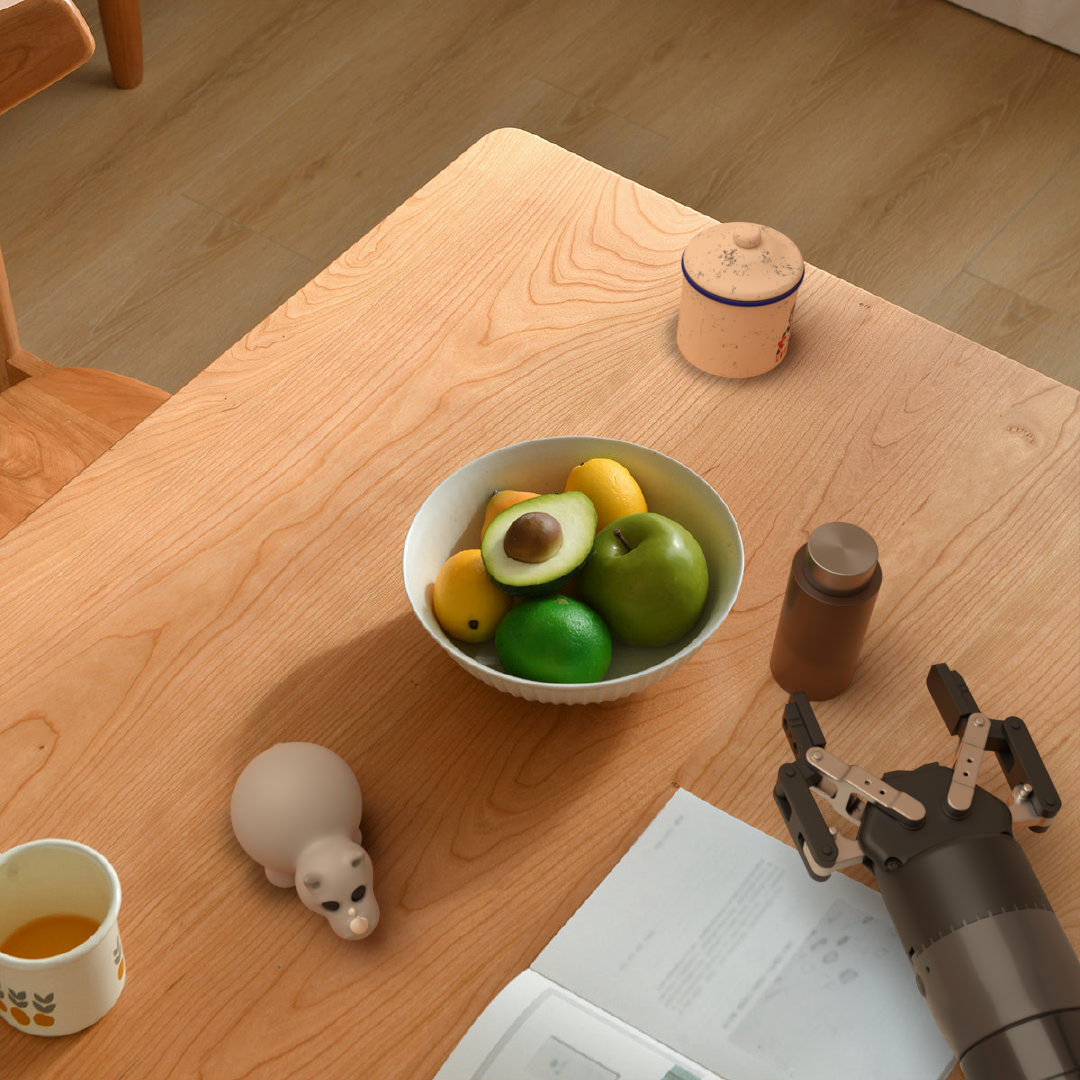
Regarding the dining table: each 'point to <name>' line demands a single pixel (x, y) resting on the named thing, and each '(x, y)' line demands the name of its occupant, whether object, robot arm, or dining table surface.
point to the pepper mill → (826, 611)
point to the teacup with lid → (738, 298)
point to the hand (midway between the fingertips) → (864, 685)
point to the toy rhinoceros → (308, 832)
